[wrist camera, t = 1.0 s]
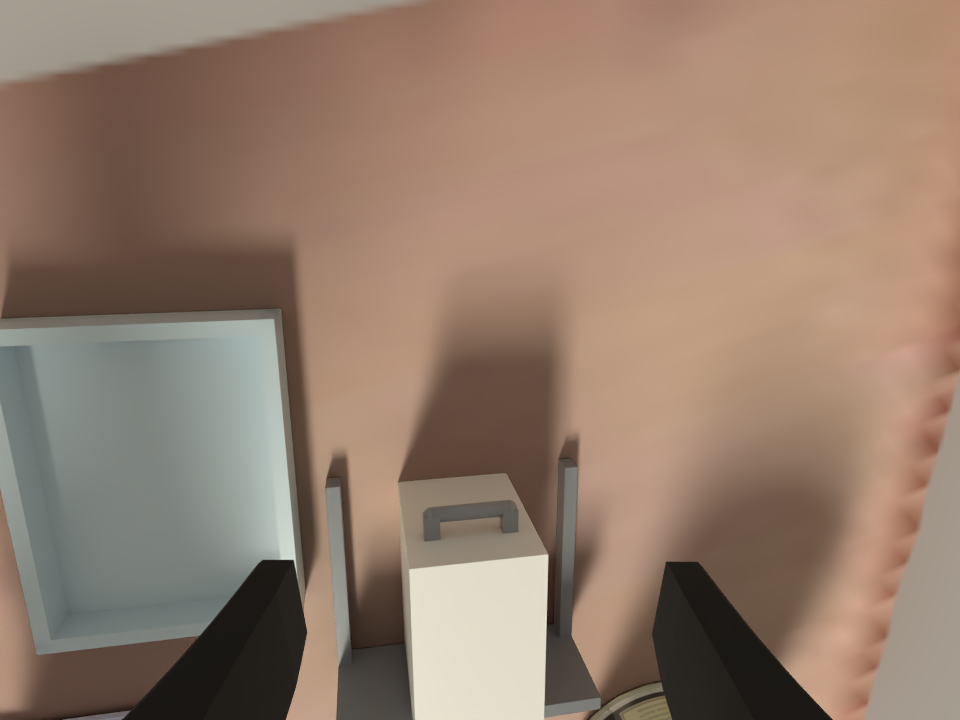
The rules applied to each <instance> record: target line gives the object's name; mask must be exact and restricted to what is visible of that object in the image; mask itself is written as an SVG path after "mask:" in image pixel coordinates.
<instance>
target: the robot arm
mask: <svg viewBox="0 0 960 720" xmlns="http://www.w3.org/2000/svg"><path fill="white" fill-rule="evenodd" d="M306 635H307V629H306V624H305V618H304V613H303V607H302V602H301V596H300V591H299V585H298V580H297V574H296V569H295V563H294V560H262V561H261V562H259V563H258V564H257V566H256V567H255V568H254V569H253V571H252V572H251V573H250V574H249V576H248V577H247V578H246V580H245V581H244V582H243V583H242V585H241V586H240V587H239V588H238V590H237V591H236V592H235V593H234V595H233V596H232V597H231V598H230V600H229V601H228V602H227V603H226V605H225V606H224V607H223V608H222V610H221V611H220V612H219V613H218V614H217V616H216V617H215V618H214V619H213V621H212V622H211V623H210V624H209V625H208V626H207V628H206V629H205V630H204V631H203V632H202V633H201V635H200V636H199V637H198V638H197V639H196V640H195V642H194V643H193V644H192V645H191V646H190V647H189V649H188V650H187V651H186V652H185V653H184V654H183V656H182V657H181V658H180V659H179V660H178V661H177V662H176V663H175V664H174V666H173V667H172V668H171V669H170V670H169V671H168V672H167V673H166V674H165V675H164V676H163V677H162V678H161V679H160V681H159V682H158V683H157V684H156V685H155V686H154V687H153V688H152V689H151V690H150V691H149V692H148V693H147V694H146V696H145V697H144V698H143V699H142V700H141V701H140V702H139V703H138V704H137V705H136V706H135V707H134V708H133V709H132V710H130V711H122V712H115V713H108V714H100V715H93V716H86V717H78V718H71V719H64V720H286V717H287V714H288V711H289V707H290V704H291V701H292V698H293V695H294V691H295V688H296V684H297V680H298V675H299V670H300V666H301V661H302V656H303V651H304V646H305V640H306ZM652 636H653V641H654V647H655V652H656V658H657V663H658V668H659V673H660V678H661V683H662V688H663V691H664V695H665V698H666V701H667V705H668V708H669V711H670V714H671V718H672V720H832V719H831V717H830V716H829V715H828V714H827V713H826V712H825V711H824V710H823V709H822V708H821V707H820V706H819V705H818V704H817V703H816V702H815V701H814V700H813V699H812V698H811V697H810V695H809V694H808V693H807V692H806V691H805V690H804V689H803V688H802V687H801V686H800V685H799V684H798V683H797V681H796V680H795V679H794V678H793V677H792V676H791V675H790V674H789V672H788V671H787V670H786V669H785V668H784V667H783V666H782V665H781V663H780V662H779V661H778V660H777V659H776V658H775V656H774V655H773V654H772V653H771V652H770V651H769V649H768V648H767V647H766V646H765V645H764V644H763V642H762V641H761V640H760V639H759V638H758V637H757V635H756V634H755V633H754V632H753V630H752V629H751V628H750V627H749V626H748V624H747V623H746V622H745V621H744V619H743V618H742V617H741V616H740V614H739V613H738V612H737V611H736V609H735V608H734V607H733V606H732V604H731V603H730V602H729V601H728V599H727V598H726V597H725V596H724V594H723V593H722V592H721V590H720V589H719V588H718V586H717V585H716V584H715V583H714V581H713V580H712V579H711V577H710V576H709V575H708V573H707V572H706V571H705V570H704V568H703V567H702V566H701V565H700V564H699V563H698V562H666V565H665V570H664V575H663V581H662V586H661V591H660V596H659V601H658V607H657V612H656V617H655V622H654V627H653V633H652Z"/></svg>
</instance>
